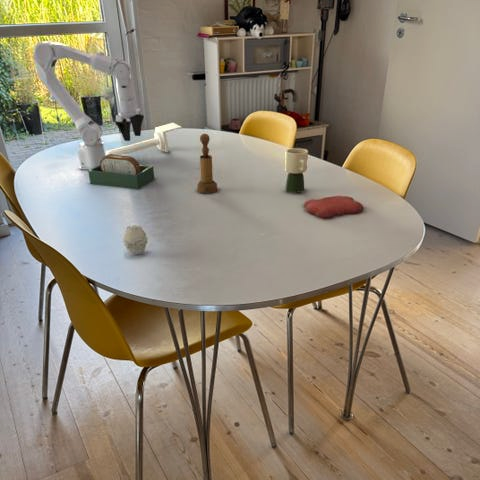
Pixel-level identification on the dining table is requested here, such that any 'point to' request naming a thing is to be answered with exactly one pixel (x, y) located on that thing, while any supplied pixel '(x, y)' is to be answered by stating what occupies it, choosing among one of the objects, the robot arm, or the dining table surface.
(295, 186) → the character mug
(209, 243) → the dining table surface
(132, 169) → the tin
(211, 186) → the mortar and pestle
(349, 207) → the patty
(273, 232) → the dining table surface
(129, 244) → the off-white lumpy ball
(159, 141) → the paper towel holder
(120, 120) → the robot arm
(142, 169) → the tote
